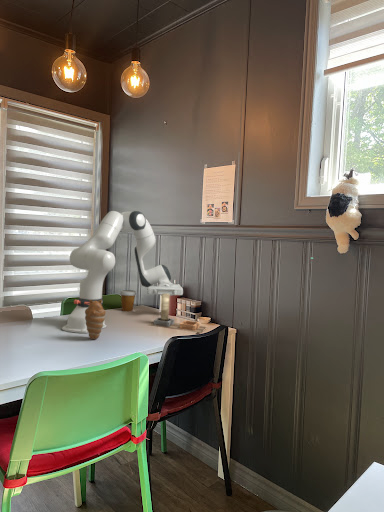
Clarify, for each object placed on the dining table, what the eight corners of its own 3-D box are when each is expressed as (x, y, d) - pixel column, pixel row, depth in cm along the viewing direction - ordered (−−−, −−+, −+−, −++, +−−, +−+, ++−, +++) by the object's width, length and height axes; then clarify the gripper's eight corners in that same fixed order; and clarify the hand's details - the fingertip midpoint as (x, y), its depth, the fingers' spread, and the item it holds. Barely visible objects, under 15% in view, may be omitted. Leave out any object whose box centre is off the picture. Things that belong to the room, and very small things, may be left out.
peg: (166, 325, 198) (168, 295, 197) (159, 324, 199) (160, 294, 198) (169, 324, 202) (170, 294, 201) (162, 323, 203) (163, 293, 202)
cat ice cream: (83, 342, 166) (85, 301, 165) (83, 336, 173) (85, 297, 172) (104, 341, 168) (106, 301, 167) (103, 336, 176) (105, 297, 175)
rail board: (199, 334, 189) (199, 327, 188) (147, 327, 197) (147, 320, 197) (205, 329, 200) (206, 322, 200) (156, 322, 208) (156, 315, 208)
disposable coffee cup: (130, 308, 241) (130, 289, 240) (138, 311, 234) (139, 291, 233) (116, 309, 235) (117, 290, 234) (124, 312, 228) (125, 292, 227)
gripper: (147, 283, 224) (146, 286, 211) (182, 284, 226) (183, 288, 213) (147, 293, 225) (146, 298, 211) (181, 294, 227) (183, 299, 213)
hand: (165, 293), depth 212 cm, fingers open, 8 cm apart
